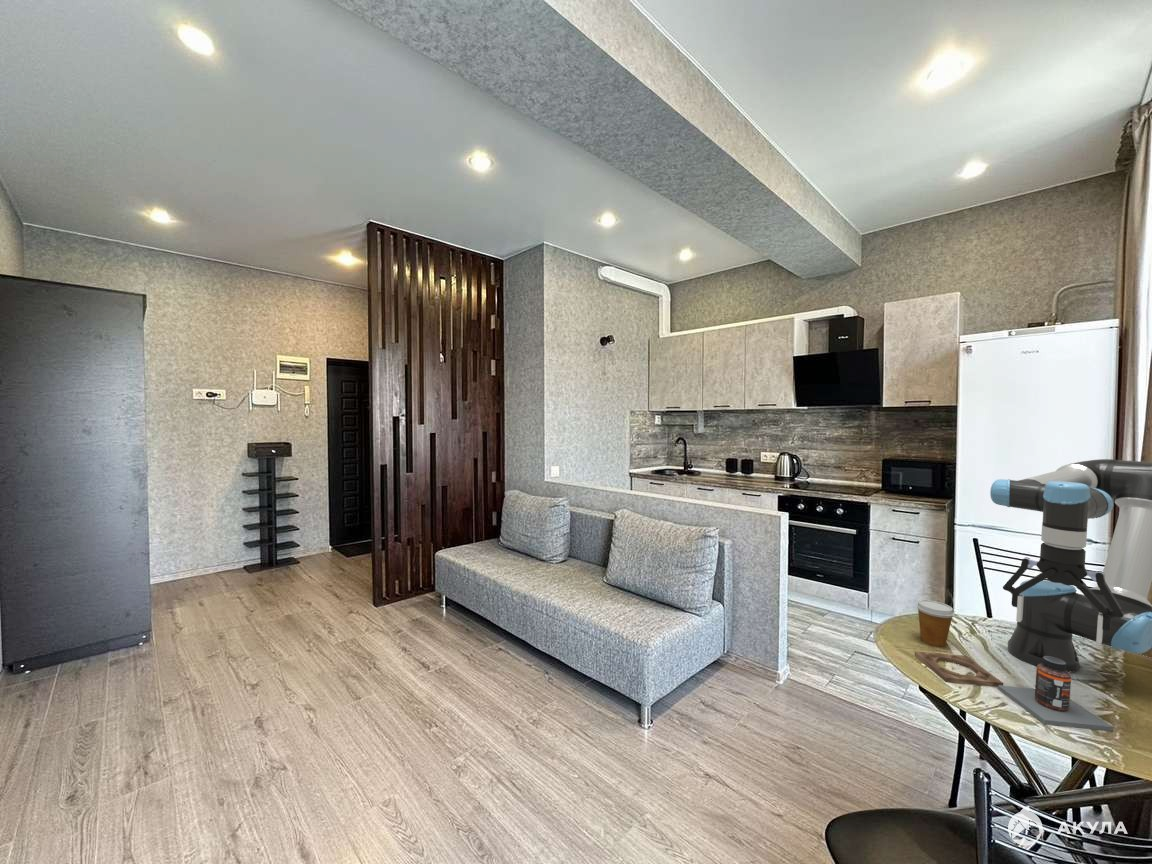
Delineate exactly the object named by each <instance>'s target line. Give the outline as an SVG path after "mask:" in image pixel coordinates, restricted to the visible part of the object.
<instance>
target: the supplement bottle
mask: <svg viewBox="0 0 1152 864" xmlns="http://www.w3.org/2000/svg"><path fill="white" fill-rule="evenodd" d="M1042 661H1043V663H1040V664H1038V665H1037V666H1036V671H1035V673H1036V674H1035V687H1034V689H1035V699H1036V700H1037V701H1038V702H1039V703H1040V704H1042V705H1044V706H1046V707H1049V708H1051V709H1054V710H1059V711H1067V710H1068V709H1069V704H1070V703H1069V701H1070V699H1071V687H1072V684H1071V683H1072V675H1071V672H1068V671H1067V670H1066V662H1064V661H1063V660H1061V659H1058V658H1055V657H1051V656H1043V660H1042Z"/></svg>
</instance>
